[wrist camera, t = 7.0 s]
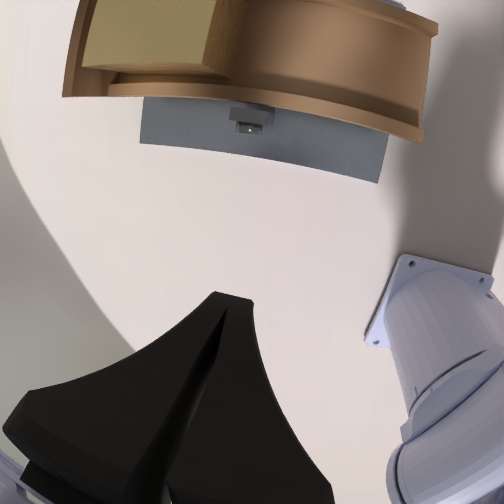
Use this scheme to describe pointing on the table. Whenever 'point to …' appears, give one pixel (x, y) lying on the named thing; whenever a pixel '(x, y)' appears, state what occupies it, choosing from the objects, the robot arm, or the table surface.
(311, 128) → the pivot stand
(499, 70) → the table surface
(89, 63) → the block
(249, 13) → the balance beam
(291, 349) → the table surface
